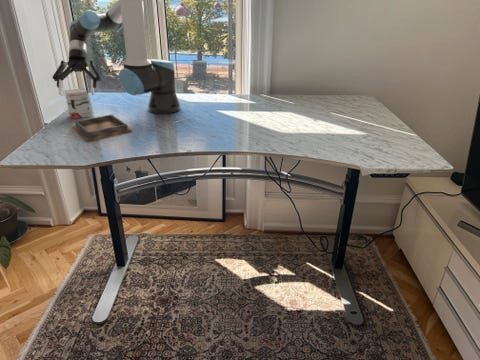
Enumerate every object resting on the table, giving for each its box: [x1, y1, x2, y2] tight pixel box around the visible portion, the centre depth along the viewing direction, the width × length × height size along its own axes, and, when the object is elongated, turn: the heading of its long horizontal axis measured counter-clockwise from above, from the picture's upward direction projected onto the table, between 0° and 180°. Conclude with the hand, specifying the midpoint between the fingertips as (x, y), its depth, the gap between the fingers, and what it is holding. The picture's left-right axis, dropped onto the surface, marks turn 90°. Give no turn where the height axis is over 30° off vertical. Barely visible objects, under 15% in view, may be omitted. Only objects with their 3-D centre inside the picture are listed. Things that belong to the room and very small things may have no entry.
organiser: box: [71, 114, 133, 142], centre depth 140 cm, size 18×18×3 cm
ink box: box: [64, 87, 93, 120], centre depth 152 cm, size 8×5×12 cm, turn 123°
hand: (76, 94), depth 153 cm, fingers open, 13 cm apart
